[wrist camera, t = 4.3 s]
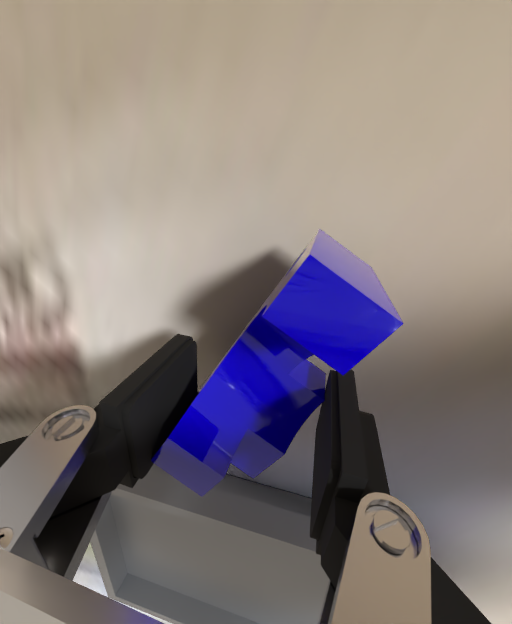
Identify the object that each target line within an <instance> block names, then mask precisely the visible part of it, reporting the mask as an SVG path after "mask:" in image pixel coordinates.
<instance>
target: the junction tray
mask: <svg viewBox="0 0 512 624" xmlns="http://www.w3.org/2000/svg"><path fill="white" fill-rule="evenodd" d="M311 502H312V499H311V498H307V497H304V496H300V495H297V494H293V493H290V492H286V491H283V490H279V489H276V488H272V487H269V486H265V485H262V484H258V483H255V482H251V481H248V480H244V479H241V478H237V477H234V476H230V475H227V474H226V475H225V477H224V479H222V480H221V481H220V482H219V483H218V484H217V485H215V486H214V487H213V488H212V489H211V490H210V491H209V492H207V493H206V494H205V495H204V496H203V497H201V496H200V495H198V494H197V493H195V492H194V491H192V490H191V489H190V488H188V487H187V486H185V485H184V484H182V483H181V482H180V481H178V480H177V479H175V478H174V477H173V476H171V475H170V474H168V473H167V472H165V471H164V470H163V469H161V468H160V467H158V466H157V465H155V464H153V466H152V467H151V469H150V470H149V472H148V473H147V475H146V476H145V477H144V478H143V479H140V478H139V479H138V481H137V482H136V484H135V485H134V487H133V488H130V487H127V486H125V485H122V484H119V485H118V486H117V488H116V489H115V490H114V491H112V493H111V495H110V498H109V500H108V502H107V504H106V507H105V509H104V511H103V513H102V515H101V518H100V520H99V522H98V524H97V527H96V529H95V531H94V533H93V536H92V538H91V540H90V542H91V545H92V548H93V551H94V555H95V558H96V561H97V564H98V567H99V570H100V573H101V576H102V579H103V582H104V585H105V588H106V591H107V594H108V597H109V598H111V599H114V600H116V601H119V602H121V603H124V604H126V605H129V606H131V607H134V608H136V609H139V610H141V611H143V612H146V613H148V614H151V615H153V616H156V617H158V618H161V619H163V620H166V621H168V622H170V623H173V624H318V621H319V617H320V613H321V610H322V606H323V602H324V598H325V594H326V590H327V587H328V583H329V578H328V576H327V574H326V573H325V571H324V569H323V568H322V566H321V555H318V554H316V539H313V538H311V537H310V518H311Z"/></svg>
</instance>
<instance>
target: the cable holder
mask: <svg viewBox="0 0 512 624" xmlns="http://www.w3.org/2000/svg"><path fill="white" fill-rule="evenodd" d="M401 325H403V322H402V320H401V318H400V317H399V315H398V313H397V311H396V310H395V308H394V306H393V304H392V302H391V301H390V299H389V297H388V295H387V294H386V292H385V290H384V288H383V287H382V285H381V283H380V281H379V279H378V278H377V276H376V274H375V272H374V271H373V269H372V267H370V266H369V265H368V264H366V263H365V262H364V261H362V260H361V259H360V258H358V257H357V256H356V255H354V254H353V253H352V252H350V251H349V250H347V249H346V248H345V247H343V246H342V245H341V244H339V243H338V242H337V241H335V240H334V239H333V238H331V237H330V236H329V235H327V234H326V233H325V232H323V231H322V230H321V229H319V230H318V231H317V233H316V234H315V235H314V237H313V238H312V239H311V241H310V242H309V243H308V245H307V246H306V247H305V249H304V250H303V251H302V253H301V254H300V255H299V257H298V258H297V259H296V261H295V262H294V263H293V265H292V266H291V267H290V269H289V270H288V271H287V273H286V274H285V275H284V277H283V278H282V279H281V281H280V282H279V283H278V285H277V286H276V287H275V289H274V290H273V291H272V293H271V294H270V295H269V297H268V298H267V299H266V301H265V302H264V303H263V305H262V306H261V307H260V309H259V310H258V311H257V313H256V314H255V315H254V317H253V318H252V319H251V321H250V322H249V323H248V325H247V326H246V327H245V329H244V330H243V331H242V333H241V334H240V335H239V337H238V338H237V339H236V341H235V342H234V343H233V345H232V346H231V347H230V349H229V350H228V351H227V353H226V354H225V355H224V357H223V358H222V359H221V361H220V362H219V363H218V365H217V366H216V367H215V369H214V370H213V371H212V373H211V374H210V375H209V377H208V378H207V379H206V381H205V382H204V384H203V385H202V386H201V388H200V389H199V391H198V392H197V394H196V395H195V397H194V398H193V400H192V401H191V402H190V404H189V405H188V407H187V408H186V410H185V411H184V413H183V414H182V416H181V417H180V418H179V420H178V421H177V423H176V424H175V426H174V427H173V429H172V430H171V432H170V433H169V434H168V436H167V437H166V439H165V440H164V442H163V443H162V445H161V446H160V448H159V449H158V450H157V452H156V453H155V455H154V456H153V458H152V459H151V461H152V462H153V463H154V464H155V465H157V466H158V467H160V468H161V469H163V470H164V471H165V472H167V473H168V474H170V475H171V476H173V477H174V478H175V479H177V480H178V481H180V482H181V483H182V484H184V485H185V486H187V487H188V488H190V489H191V490H192V491H194V492H195V493H197V494H198V495H200V496H201V497H203V496H204V495H205V494H206V493H207V492H209V491H210V490H211V489H212V488H213V487H214V486H215V485H217V484H218V483H219V482H220V481H221V480H222V479H224V477H225V475H226V472H227V470H228V468H229V465H230V463H232V464H233V465H234V466H236V467H237V468H239V469H240V470H241V471H243V472H244V473H246V474H247V475H248V476H250V477H251V478H255V477H256V476H257V475H259V474H260V473H261V472H262V471H264V470H265V469H266V468H268V467H269V466H270V465H272V464H273V463H274V462H275V461H277V460H278V459H279V458H281V457H282V456H283V455H284V454H285V453H286V451H287V449H288V447H289V445H290V443H291V442H292V440H293V438H294V437H295V435H296V433H297V432H298V430H299V429H300V427H301V426H302V425H303V423H304V422H305V421H306V419H307V418H308V417H309V416H310V415H311V414H312V412H313V411H314V410H315V409H316V408H317V407H318V406H319V405H320V404H321V403H323V402H324V401H325V376H326V373H324V372H323V371H322V370H320V369H319V368H317V367H316V366H315V365H313V364H312V363H311V362H309V361H308V360H306V359H307V358H309V357H310V356H312V355H316V356H317V357H318V358H320V359H321V360H323V361H324V362H325V363H327V364H328V365H329V366H331V367H332V368H334V369H335V370H336V371H338V372H339V373H340V374H342V375H344V374H346V373H347V372H348V371H349V370H350V369H351V368H353V367H354V366H355V365H356V364H357V363H358V362H360V361H361V360H362V359H363V358H364V357H365V356H367V355H368V354H369V353H370V352H371V351H372V350H373V349H375V348H376V347H377V346H378V345H379V344H380V343H382V342H383V341H384V340H385V339H386V338H387V337H389V336H390V335H391V334H392V333H393V332H394V331H396V330H397V329H398V328H399V327H400V326H401Z"/></svg>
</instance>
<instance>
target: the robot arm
mask: <svg viewBox="0 0 512 624" xmlns="http://www.w3.org/2000/svg"><path fill="white" fill-rule="evenodd" d="M197 392H198V391H197V347H196V342H195V341H193V339H192V337H190V336H185V335H180V334H177V335H175V336H174V337H173V338H172V339H171V340H170V341H169V342H167V343H166V344H165V345H164V346H163V347H162V348H161V349H160V350H158V351H157V352H156V353H155V354H154V355H153V356H152V357H150V358H149V359H148V360H147V361H146V362H145V363H144V364H142V365H141V366H140V367H139V368H138V369H137V370H136V371H134V372H133V373H132V374H131V375H130V376H129V377H128V378H126V379H125V380H124V381H123V382H122V383H121V384H120V385H118V386H117V387H116V388H115V389H114V390H113V391H112V392H111V393H109V394H108V395H107V396H106V397H105V398H104V399H103V400H101V401H100V402H99V403H100V404H99V405H98V406H96V407H95V408H94V409H93V408H91V407H89V406H85V405H74V406H70V407H66V408H63V409H61V410H58V411H56V412H54V413H53V414H51V415H49V416H48V417H47V418H45V419H44V420H43V421H42V422H41V423H40V424H39V425H38V426H37V427H36V428H35V430H34V431H33V432H32V433H31V434H30V435H29V436H26V437H22V438H19V439H16V440H12V441H9V442H5V443H2V444H0V624H164V623H162V622H159V621H157V620H155V619H153V618H151V617H149V616H147V615H144V614H142V613H140V612H138V611H136V610H134V609H131V608H129V607H127V606H125V605H123V604H121V603H119V602H116V601H114V600H112V599H110V598H108V597H106V596H103V595H101V594H99V593H97V592H95V591H93V590H91V589H88V588H86V587H84V586H82V585H80V584H78V583H75V582H73V581H72V580H73V578H74V576H75V574H76V571H77V569H78V567H79V565H80V562H81V560H82V558H83V556H84V554H85V551H86V549H87V547H88V545H89V542H90V540H91V538H92V536H93V533H94V531H95V529H96V527H97V524H98V522H99V520H100V518H101V515H102V513H103V511H104V509H105V507H106V504H107V502H108V500H109V498H110V495H111V493H112V491H114V490H115V489H116V488H117V486H118V485H119V484H122V485H125V486H127V487H130V488H133V487H134V485H135V484H136V482H137V481H138V479H139V478H140V479H143V478H144V477H145V476H146V475H147V473H148V472H149V470H150V469H151V467H152V466H153V464H154V463H153V462H152V461H151V459H152V458H153V456H154V455H155V453H156V452H157V450H158V449H159V448H160V446H161V445H162V443H163V442H164V440H165V439H166V437H167V436H168V434H169V433H170V432H171V430H172V429H173V427H174V426H175V424H176V423H177V421H178V420H179V418H180V417H181V416H182V414H183V413H184V411H185V410H186V408H187V407H188V405H189V404H190V402H191V401H192V400H193V398H194V397H195V395H196V394H197ZM310 537H311V538H313V539H316V554H318V555H321V566H322V568H323V569H324V571H325V573H326V574H327V576H328V578H329V583H328V587H327V590H326V594H325V598H324V602H323V606H322V610H321V613H320V617H319V621H318V624H491V623H490V622H489V621H488V619H487V618H486V617H485V616H484V615H483V614H482V613H481V612H480V611H479V610H478V608H477V607H476V606H475V605H474V604H473V603H472V602H471V601H470V600H469V599H468V597H467V596H466V595H465V594H464V593H463V592H462V591H461V590H460V589H459V588H458V586H457V585H456V584H455V583H454V582H453V581H452V580H451V579H450V578H449V577H448V575H447V574H446V573H445V572H444V571H443V570H442V569H441V568H440V567H439V566H438V564H437V563H436V562H435V561H434V560H433V559H432V558H431V550H430V544H429V538H428V536H427V533H426V531H425V529H424V527H423V525H422V523H421V522H420V520H419V519H418V518H417V516H416V515H415V514H414V513H413V512H412V511H411V510H410V509H409V508H408V507H407V506H406V505H405V504H404V503H402V502H401V501H400V500H398V499H397V498H395V497H393V496H390V492H389V487H388V483H387V478H386V473H385V468H384V463H383V458H382V453H381V448H380V443H379V438H378V433H377V428H376V423H375V419H374V416H373V415H372V414H370V413H365V412H361V411H359V407H358V400H357V393H356V385H355V378H354V372H353V371H352V370H349V371H348V372H347V373H346V374H344V375H342V374H340V373H339V372H338V371H332V370H330V373H329V377H328V381H327V385H326V389H325V401H324V402H323V403H322V406H321V410H320V414H319V419H318V423H317V428H316V438H315V454H314V470H313V486H312V502H311V518H310Z"/></svg>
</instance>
